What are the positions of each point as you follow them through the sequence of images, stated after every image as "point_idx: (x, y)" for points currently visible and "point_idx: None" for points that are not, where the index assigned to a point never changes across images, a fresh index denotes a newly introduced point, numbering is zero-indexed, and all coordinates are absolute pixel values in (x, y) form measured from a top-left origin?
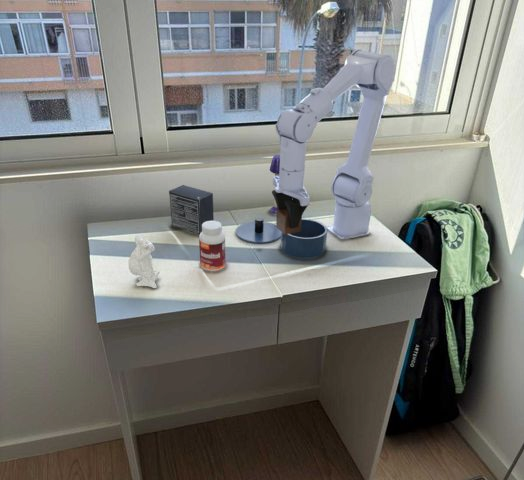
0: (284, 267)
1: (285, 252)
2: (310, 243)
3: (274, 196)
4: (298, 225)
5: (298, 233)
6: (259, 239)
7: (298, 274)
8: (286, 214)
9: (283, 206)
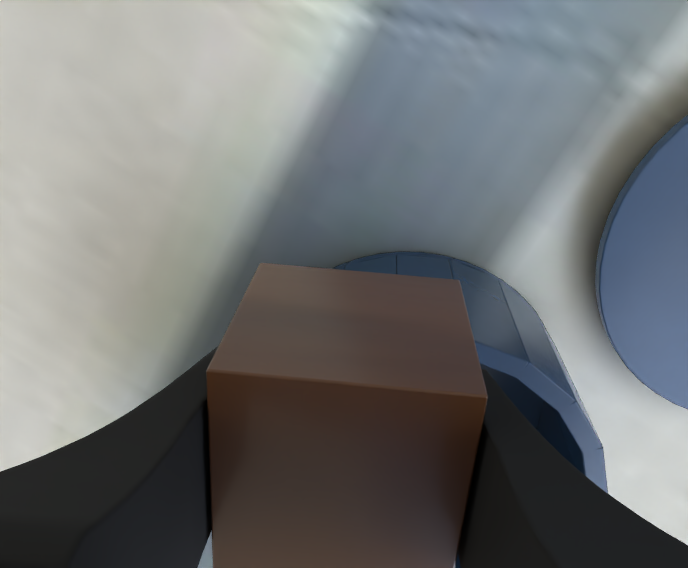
0: (238, 146)
1: (394, 258)
2: None
3: (646, 550)
4: None
5: None
6: (681, 188)
7: (113, 179)
8: (284, 424)
9: (481, 511)
